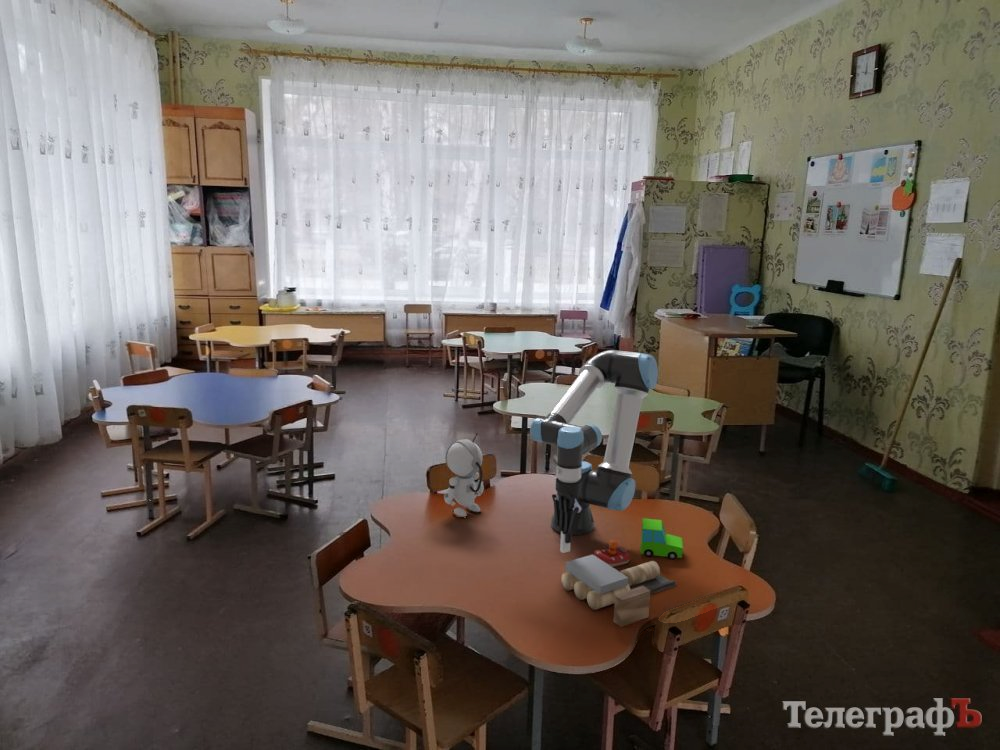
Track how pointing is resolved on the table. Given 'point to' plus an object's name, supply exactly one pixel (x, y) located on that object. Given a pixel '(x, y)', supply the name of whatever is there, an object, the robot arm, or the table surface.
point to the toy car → (659, 541)
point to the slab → (596, 574)
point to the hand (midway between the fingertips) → (565, 551)
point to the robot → (464, 475)
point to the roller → (642, 573)
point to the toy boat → (613, 555)
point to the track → (620, 597)
